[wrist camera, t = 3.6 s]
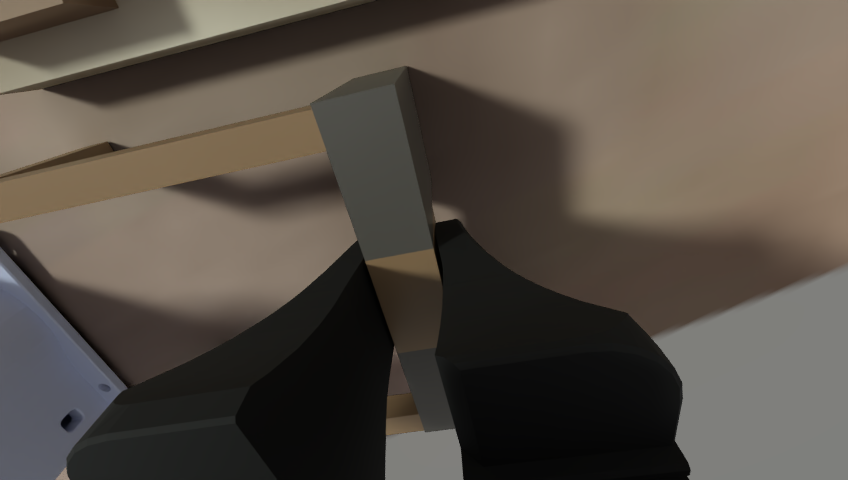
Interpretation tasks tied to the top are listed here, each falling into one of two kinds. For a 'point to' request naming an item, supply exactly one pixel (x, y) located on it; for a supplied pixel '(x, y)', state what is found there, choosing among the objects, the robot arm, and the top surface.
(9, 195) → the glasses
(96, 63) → the stand
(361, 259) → the robot arm
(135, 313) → the top surface
